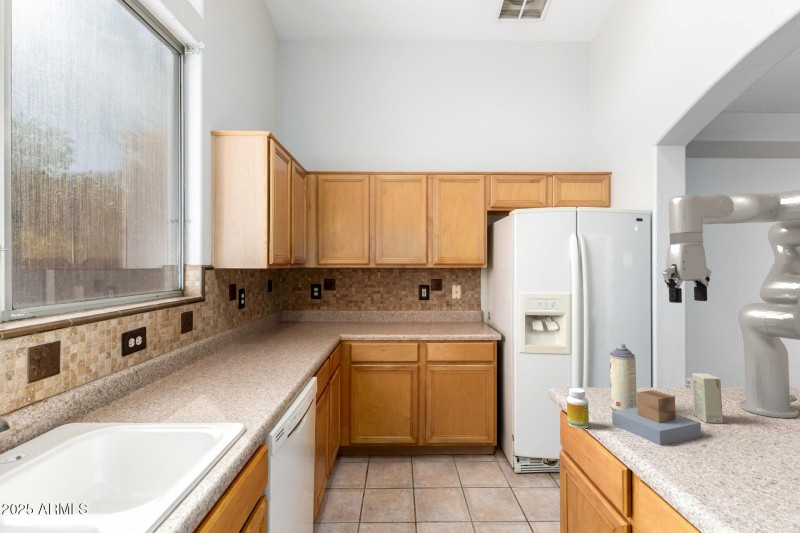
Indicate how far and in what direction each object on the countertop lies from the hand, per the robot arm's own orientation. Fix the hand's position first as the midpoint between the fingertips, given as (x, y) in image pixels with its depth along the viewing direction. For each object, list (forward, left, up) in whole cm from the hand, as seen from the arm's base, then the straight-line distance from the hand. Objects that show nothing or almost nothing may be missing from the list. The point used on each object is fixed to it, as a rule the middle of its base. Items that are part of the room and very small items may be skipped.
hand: (688, 301), depth 108 cm
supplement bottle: (+30, -10, -34) cm, 46 cm away
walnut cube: (+14, 0, -30) cm, 33 cm away
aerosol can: (+9, -14, -34) cm, 37 cm away
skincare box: (-6, 0, -34) cm, 34 cm away
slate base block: (+14, 0, -34) cm, 37 cm away
